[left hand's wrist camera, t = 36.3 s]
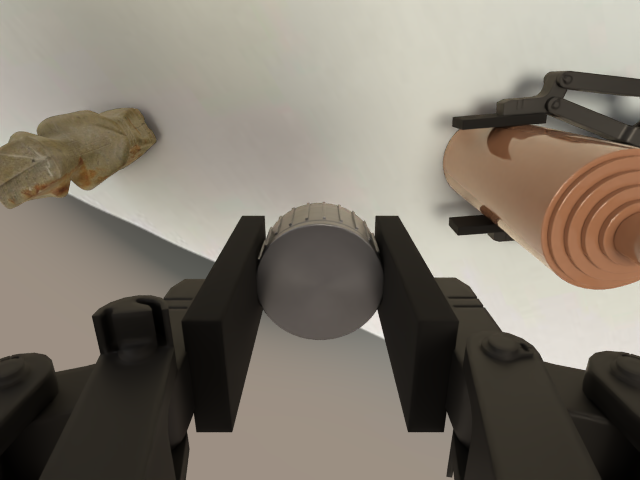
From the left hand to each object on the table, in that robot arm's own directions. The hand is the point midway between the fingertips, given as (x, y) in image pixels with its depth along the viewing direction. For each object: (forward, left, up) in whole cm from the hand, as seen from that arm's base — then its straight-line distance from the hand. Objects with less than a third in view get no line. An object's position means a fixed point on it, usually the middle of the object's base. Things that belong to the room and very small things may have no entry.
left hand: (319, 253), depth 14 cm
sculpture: (-17, -8, -28) cm, 34 cm away
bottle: (+15, +6, -28) cm, 32 cm away
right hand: (+11, +3, -22) cm, 25 cm away
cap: (0, 0, +2) cm, 2 cm away
